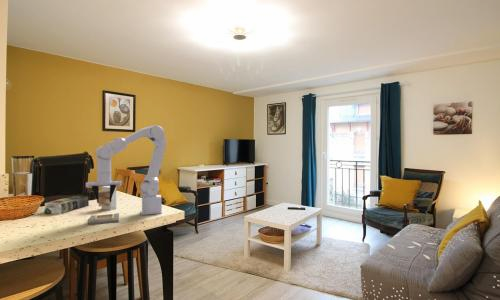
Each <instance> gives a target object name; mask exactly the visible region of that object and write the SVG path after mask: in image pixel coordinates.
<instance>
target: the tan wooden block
mask: <svg viewBox="0 0 500 300" xmlns="http://www.w3.org/2000/svg"><path fill="white" fill-rule="evenodd" d="M102 206H110V191H102V190H100V191H99V203H98V207H99V208H100V207H102Z"/></svg>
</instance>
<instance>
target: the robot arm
mask: <svg viewBox="0 0 500 300" xmlns="http://www.w3.org/2000/svg"><path fill="white" fill-rule="evenodd" d="M165 133H166V132H165V130H164V128H163V127H162V126H160V125H149V126H146V127H143V128H140V129H139V130H137V131H135V132H133V133H131V134H130V135H127V136H125V137H124V138H123V137H115V138H114V140H112V141H110V142H105V143H104V145H100V146H99V147H97V149H96V150H95V153H94V154H95V156H96V157H97V159H96V161H97V163H96V170H97V171H96V181H89V182H88V181H87V182H85V188H91V190H92V192H93V193H94V195H95V196H94V197H95V198H96V203H97V204H99V192H100V190H99V189H100V187H104V186H110V202H111V200H112V195H113V193H114V190H115V188H116V189H117V186H118V187H120V186H122V184H123V181H122V180H112V157H113V155H115V154H118V153H120V152H121V151H124V150H126V149H127V148H128V146H129V144H131V143H133V142H136V141H137V140H140V139H141V138H147V139H149V140H151V142H152V144H153V145H154V147H153V151H152V155H151V159H150V162H149V166H148V171H147V173H146V176H145V177H144V179H143V181H142V182H141V184H140V187H139V189H140V192H141V210H140V215H141V216H145V215H157V214H162V208H163V207H162V195H161V194H158V193H159V191H160V186H159V184H160V181H159V175H160V169H161V167H162V163H163V160H164V159H163V158H164V155H165V152H166V147H167V140H166V136H165V135H166V134H165Z"/></svg>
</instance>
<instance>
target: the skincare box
mask: <svg viewBox="0 0 500 300" xmlns="http://www.w3.org/2000/svg"><path fill="white" fill-rule="evenodd" d="M100 187H101V191H110V186H100ZM116 209H117V187H116V188H115V190H114V193H113V195H112V200H111V202H110V206H101V210H107V211H112V210H116Z"/></svg>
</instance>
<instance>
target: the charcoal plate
mask: <svg viewBox="0 0 500 300" xmlns="http://www.w3.org/2000/svg"><path fill="white" fill-rule="evenodd" d="M119 221H120V213H119V212H117V213H108V214H107V213H106V214H97V215H95V214H94V215H90V216H89V220H88V222H87V225H88V226H92V225H103V224H111V223H112V224H113V223H119Z"/></svg>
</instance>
